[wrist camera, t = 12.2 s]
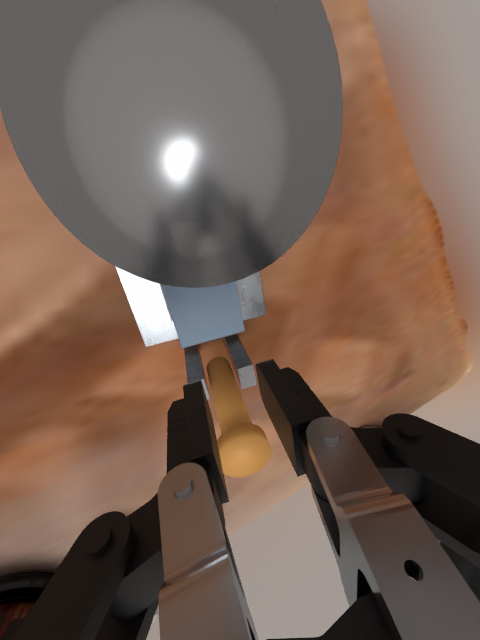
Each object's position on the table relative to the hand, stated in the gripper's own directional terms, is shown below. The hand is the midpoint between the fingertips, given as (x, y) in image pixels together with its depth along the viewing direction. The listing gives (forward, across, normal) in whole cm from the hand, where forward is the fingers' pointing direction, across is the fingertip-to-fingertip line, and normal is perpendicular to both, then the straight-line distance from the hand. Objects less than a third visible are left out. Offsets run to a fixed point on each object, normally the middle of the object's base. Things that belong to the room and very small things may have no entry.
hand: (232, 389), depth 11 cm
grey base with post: (+21, 0, 0) cm, 21 cm away
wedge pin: (+15, 0, +9) cm, 17 cm away
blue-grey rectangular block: (+19, 0, 0) cm, 19 cm away
